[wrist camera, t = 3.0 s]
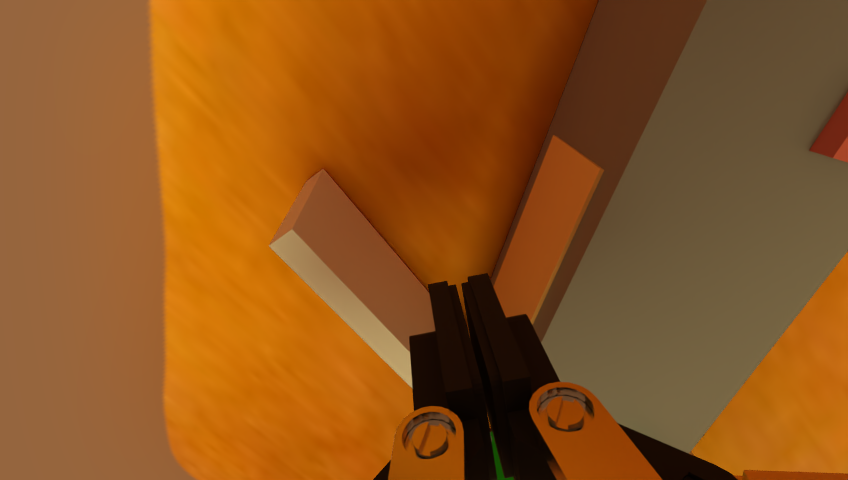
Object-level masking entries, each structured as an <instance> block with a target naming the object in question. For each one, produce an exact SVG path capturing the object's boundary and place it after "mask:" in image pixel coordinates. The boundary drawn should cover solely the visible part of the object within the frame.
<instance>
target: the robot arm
mask: <svg viewBox="0 0 848 480" xmlns="http://www.w3.org/2000/svg"><path fill="white" fill-rule="evenodd" d="M428 288H429V294H430V300H431V306H432V313H433V319H434V325H435V331H433V332H428V333H423V334H418V335H412V336H409V345H410V359H411V374H412V388H413V402H414V411H413V412H411V413H410V414H409V415H408V416H406V417H405V418H404V419H403V420H402V422H401V423H400V424H399V426H398V427H397V430H396V434H395V437H394V444H393V450H392V457H391V460H390V461H389V463H388V464H387V465H386V466H385V467H384V468H383V469H382V470H381V471H380V473H379V474H378V475H377V476H376V477H375V478H374V479H373V480H497V472H496V466H495V460H494V453H493V447H492V441H491V434H490V428H489V422H488V417H489V421H490V425H491V429H492V432H493V436H494V440H495V444H496V448H497V452H498V455H499V459H500V463H501V467H502V471H503V474H504V478H510V477H513V478H514V480H848V474H843V473H815V472H786V471H758V470H744V472H743V476H734V475H732V474H731V473H729V472H727V471H725V470H724V469H722V468H720V467H718V466H716V465H714V464H712V463H709V462H707V461H705V460H702V459H700V458H698V457H695V456H693V455H691V454H689V453H686V452H684V451H682V450H679V449H677V448H675V447H672V446H670V445H668V444H665V443H663V442H661V441H658V440H656V439H654V438H651V437H649V436H647V435H644V434H642V433H640V432H637V431H635V430H633V429H630V428H628V427H626V426H623V425H621V424H619V423H617V422H616V421H615V420H614V418H613V417H612V416H611V415H610V413H609V412H608V411H607V410H606V408H605V407H604V406H603V405H602V403H601V402H600V401H599V399H598V398H597V397H596V396H595V395H594V394H593V393H592V392H590V391H589V390H588V389H586V388H584V387H582V386H580V385H577V384H573V383H570V382H560V380H559V378H558V376H557V374H556V372H555V370H554V368H553V366H552V364H551V362H550V360H549V358H548V356H547V354H546V352H545V350H544V348H543V346H542V344H541V342H540V340H539V338H538V336H537V333H536V331H535V329H534V327H533V325H532V323H531V321H530V319H529V318H528V316H527V315H526V314H522V315H516V316H511V317H506V316H505V314H504V312H503V309H502V307H501V304H500V302H499V299H498V297H497V295H496V292H495V290H494V287H493V285H492V283H491V280H490V278H489V275H488V273H485V274H480V275H475V276H470V277H468V282H466V283H462V291H463V297H464V303H465V309H466V315H467V321H468V327H469V332H468V329H467V325H466V321H465V318H464V314H463V310H462V306H461V303H460V299H459V295H458V292H457V288H456V285H450V286H448V283H447V281H444V282H439V283H433V284H428ZM469 333H470V336H469ZM470 339H471V340H470ZM487 413H488V415H487Z"/></svg>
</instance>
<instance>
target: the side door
mask: <svg viewBox="0 0 848 480" xmlns="http://www.w3.org/2000/svg"><path fill="white" fill-rule="evenodd" d="M269 247H270V248H271V249H272V250H273V251H274V252H275V253H276V254H277V255H278V256H279V257H280V258H281V259H282V260H283V261H284V262H286V263H287V264H288V265H289V266H290V267H291V268H292V269H293V270H294V271H295V272H296V273H297V274H298V275H299V276H300V277H301V278H302V279H303V280H304V281H305V282H306V283H307V284H308V285H309V286H310V287H311V288H312V289H313V290H314V291H315V292H316V293H317V294H318V295H319V296H320V297H321V298H322V299H323V300H324V301H325V302H326V303H327V304H328V305H329V306H330V307H331V308H332V309H333V310H334V311H335V312H336V313H337V314H338V315H339V316H340V317H341V318H342V319H343V320H344V321H345V322H346V323H347V324H348V325H349V326H350V327H351V328H352V329H353V330H354V331H355V332H356V333H357V334H358V335H359V336H360V337H361V338H362V339H363V340H364V341H365V342H366V343H367V344H368V345H369V346H370V347H371V348H372V349H373V350H374V351H375V352H376V353H377V354H378V355H379V356H380V357H381V358H382V359H383V360H384V361H385V362H386V363H387V364H388V365H389V366H390V367H391V368H392V369H393V370H394V371H395V372H396V373H397V374H398V375H399V376H400V377H401V378H402V379H403V380H404V381H405V382H406V383H407V384H408V385H409V386H410V387H411V388H412V374H411V359H410V345H409V336H412V335H418V334H423V333H428V332H433V331H435V325H434V319H433V313H432V306H431V300H430V294H429V292H428V291H427V290H426V289H425V287H424V286H423V285H422V284H421V283H420V282H419V280H418V279H417V278H416V277H415V276H414V275H413V273H412V272H411V271H410V270H409V269H408V267H407V266H406V265H405V264H404V263H403V262H402V260H401V259H400V258H399V257H398V256H397V255H396V253H395V252H394V251H393V250H392V249H391V247H390V246H389V245H388V244H387V243H386V242H385V240H384V239H383V238H382V237H381V236H380V235H379V233H378V232H377V231H376V230H375V229H374V228H373V226H372V225H371V224H370V223H369V222H368V220H367V219H366V218H365V217H364V216H363V215H362V213H361V212H360V211H359V210H358V209H357V208H356V206H355V205H354V204H353V203H352V202H351V200H350V199H349V198H348V197H347V196H346V195H345V193H344V192H343V191H342V190H341V189H340V188H339V186H338V185H337V184H336V183H335V182H334V181H333V179H332V178H331V177H330V176H329V175H328V173H327V172H326V171H325V170H324V169H322V170H321V171H319V172H318V173H317V174H315V175H314V176H313V177H311V178H310V179H309V180H307V181H306V183H305V184H304V186H303V188H302V190H301V191H300V193H299V195H298V196H297V198H296V200H295V202H294V203H293V205H292V207H291V208H290V210H289V212H288V214H287V215H286V217H285V219H284V221H283V222H282V224H281V226H280V227H279V229H278V231H277V233H276V234H275V236H274V238H273V239H272V241H271V243H270V245H269ZM412 389H413V388H412ZM491 441H492V438H491Z"/></svg>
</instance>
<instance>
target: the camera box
mask: <svg viewBox="0 0 848 480" xmlns="http://www.w3.org/2000/svg"><path fill="white" fill-rule="evenodd" d="M847 251H848V0H599V1H598V4H597V7H596V9H595V12H594V14H593V17H592V19H591V22H590V25H589V27H588V30H587V32H586V35H585V37H584V40H583V43H582V45H581V48H580V50H579V53H578V56H577V58H576V61H575V63H574V66H573V68H572V71H571V74H570V76H569V79H568V81H567V84H566V86H565V89H564V92H563V94H562V97H561V99H560V102H559V104H558V107H557V110H556V112H555V115H554V117H553V120H552V123H551V125H550V128H549V130H548V133H547V135H546V138H545V141H544V143H543V146H542V148H541V151H540V153H539V156H538V159H537V161H536V164H535V166H534V169H533V171H532V174H531V177H530V179H529V182H528V184H527V187H526V189H525V192H524V195H523V197H522V200H521V202H520V205H519V208H518V210H517V213H516V215H515V218H514V220H513V223H512V226H511V228H510V231H509V233H508V236H507V238H506V241H505V244H504V246H503V249H502V251H501V254H500V256H499V259H498V262H497V264H496V267H495V269H494V272H493V275H492V277H491V283H492V285H493V287H494V290H495V292H496V295H497V297H498V299H499V302H500V304H501V307H502V309H503V312H504V314H505V316H506V317H511V316H516V315H522V314H526V315H527V316H528V318H529V319H530V321H531V323H532V325H533V327H534V329H535V331H536V333H537V336H538V338H539V340H540V342H541V344H542V346H543V348H544V350H545V352H546V354H547V356H548V358H549V360H550V362H551V364H552V366H553V368H554V370H555V372H556V374H557V376H558V378H559V380H560V382H570V383H573V384H577V385H580V386H582V387H584V388H586V389H588V390H589V391H590V392H592V393H593V394H594V395H595V396H596V397H597V398H598V399H599V401H600V402H601V403H602V405H603V406H604V407H605V408H606V410H607V411H608V412H609V413H610V415H611V416H612V417H613V418H614V420H615V421H616V422H617V423H619V424H621V425H623V426H626V427H628V428H630V429H633V430H635V431H637V432H640V433H642V434H644V435H647V436H649V437H651V438H654V439H656V440H658V441H661V442H663V443H665V444H668V445H670V446H672V447H675V448H677V449H679V450H682V451H684V452H686V453H690V452H691V450H692V449H693V448H694V447H695V445H696V444H697V443H698V441H699V440H700V439H701V438H702V436H703V435H704V434H705V433H706V431H707V430H708V429H709V427H710V426H711V425H712V424H713V422H714V421H715V420H716V418H717V417H718V416H719V415H720V413H721V412H722V411H723V410H724V408H725V407H726V406H727V404H728V403H729V402H730V401H731V399H732V398H733V397H734V396H735V394H736V393H737V392H738V390H739V389H740V388H741V387H742V385H743V384H744V383H745V381H746V380H747V379H748V378H749V376H750V375H751V374H752V373H753V371H754V370H755V369H756V367H757V366H758V365H759V364H760V362H761V361H762V360H763V358H764V357H765V356H766V355H767V353H768V352H769V351H770V350H771V348H772V347H773V346H774V344H775V343H776V342H777V341H778V339H779V338H780V337H781V336H782V334H783V333H784V332H785V330H786V329H787V328H788V327H789V325H790V324H791V323H792V321H793V320H794V319H795V318H796V316H797V315H798V314H799V313H800V311H801V310H802V309H803V307H804V306H805V305H806V304H807V302H808V301H809V300H810V298H811V297H812V296H813V295H814V293H815V292H816V291H817V290H818V288H819V287H820V286H821V284H822V283H823V282H824V281H825V279H826V278H827V277H828V276H829V274H830V273H831V272H832V270H833V269H834V268H835V267H836V265H837V264H838V263H839V261H840V260H841V259H842V258H843V256H844V255H845V254H846V253H847Z"/></svg>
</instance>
